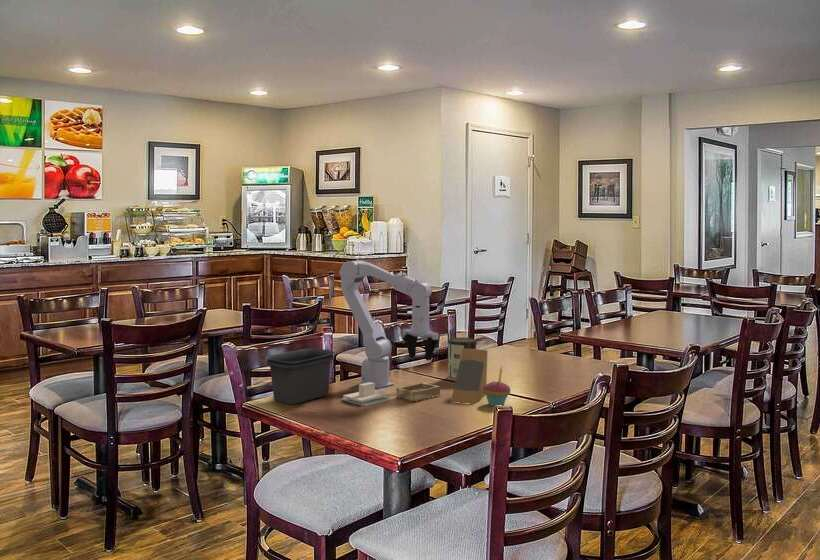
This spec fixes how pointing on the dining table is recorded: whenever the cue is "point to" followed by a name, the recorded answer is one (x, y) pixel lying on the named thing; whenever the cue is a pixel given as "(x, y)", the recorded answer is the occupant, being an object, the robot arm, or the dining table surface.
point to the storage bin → (300, 374)
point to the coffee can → (457, 353)
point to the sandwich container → (470, 376)
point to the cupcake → (496, 391)
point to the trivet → (367, 401)
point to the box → (418, 391)
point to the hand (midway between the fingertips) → (420, 358)
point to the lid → (366, 393)
